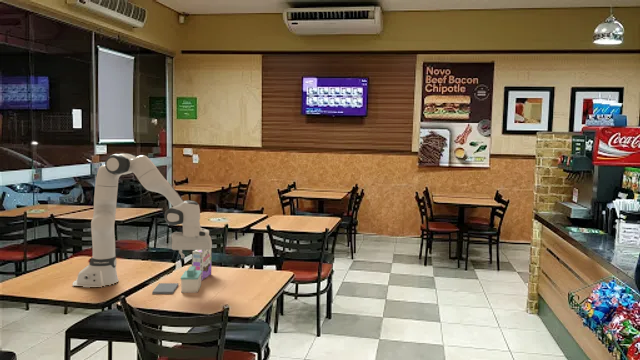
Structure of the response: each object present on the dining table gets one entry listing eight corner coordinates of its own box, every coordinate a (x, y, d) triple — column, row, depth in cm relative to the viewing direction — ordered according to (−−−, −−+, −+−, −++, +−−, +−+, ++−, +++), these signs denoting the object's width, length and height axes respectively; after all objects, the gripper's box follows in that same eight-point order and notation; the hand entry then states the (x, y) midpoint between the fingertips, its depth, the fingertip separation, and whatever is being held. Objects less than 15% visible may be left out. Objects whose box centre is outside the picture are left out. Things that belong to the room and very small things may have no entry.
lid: (180, 281, 244) (180, 271, 244) (185, 274, 257) (185, 265, 256) (197, 281, 245) (197, 271, 245) (201, 274, 258) (201, 265, 257)
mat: (152, 294, 242) (152, 291, 242) (159, 285, 256) (159, 283, 256) (172, 294, 243) (172, 291, 243) (178, 285, 257) (178, 283, 257)
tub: (181, 292, 245) (181, 279, 245) (185, 285, 257) (185, 272, 257) (197, 292, 246) (197, 279, 245) (201, 285, 258) (201, 272, 257)
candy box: (201, 281, 265) (201, 252, 264) (191, 280, 266) (191, 251, 265) (211, 274, 279) (211, 246, 277) (202, 273, 280) (202, 245, 278)
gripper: (169, 233, 245) (170, 259, 246) (210, 232, 247) (210, 259, 248) (172, 230, 251) (173, 256, 252) (212, 230, 253) (212, 256, 254)
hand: (192, 257), depth 250 cm, fingers open, 8 cm apart
